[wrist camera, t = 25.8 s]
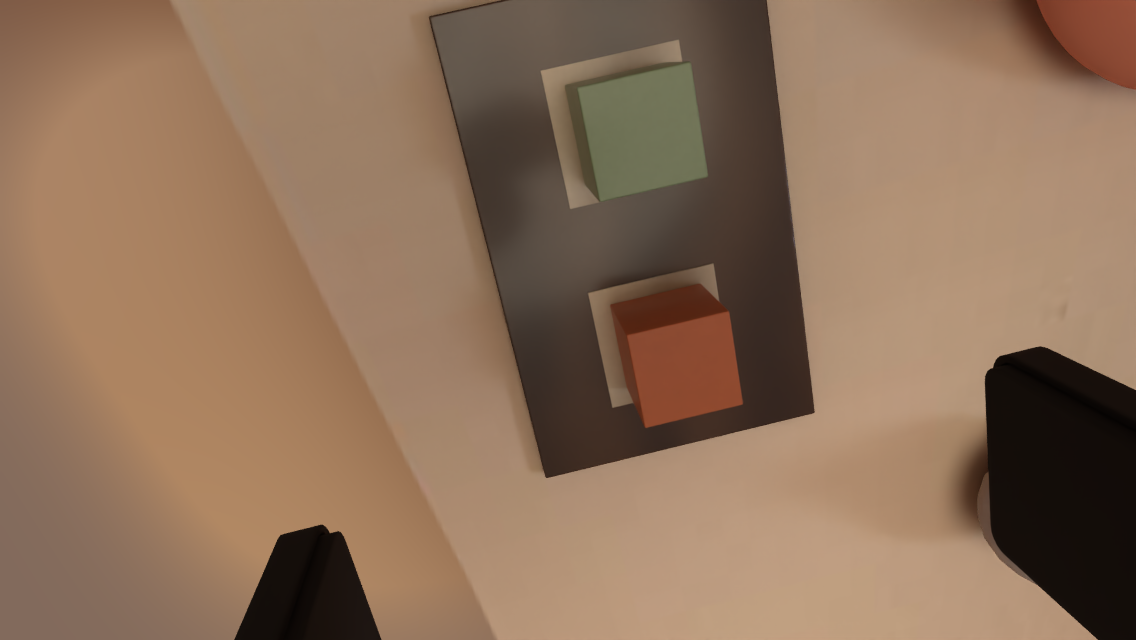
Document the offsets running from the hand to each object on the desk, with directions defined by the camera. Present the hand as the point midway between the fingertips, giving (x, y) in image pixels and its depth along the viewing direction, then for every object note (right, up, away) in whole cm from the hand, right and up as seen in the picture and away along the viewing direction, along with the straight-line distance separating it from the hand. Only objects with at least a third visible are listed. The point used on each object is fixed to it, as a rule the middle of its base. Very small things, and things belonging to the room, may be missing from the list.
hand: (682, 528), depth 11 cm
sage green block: (+1, +11, +22) cm, 25 cm away
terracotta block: (+3, +2, +26) cm, 26 cm away
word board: (+2, +7, +25) cm, 26 cm away
